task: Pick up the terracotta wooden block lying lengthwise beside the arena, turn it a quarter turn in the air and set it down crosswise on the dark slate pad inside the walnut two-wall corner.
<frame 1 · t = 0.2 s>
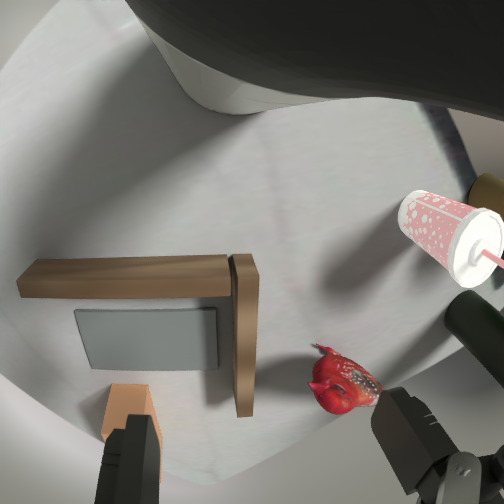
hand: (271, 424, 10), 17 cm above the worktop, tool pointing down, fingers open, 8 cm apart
beverage cup: (416, 213, 27), on the worktop
terracotta block: (138, 412, 32), on the worktop
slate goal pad: (147, 340, 28), on the worktop
decorative bird figurine: (344, 356, 33), on the worktop
walnut corner: (147, 340, 28), on the worktop
wine bottle: (460, 309, 34), on the worktop
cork: (484, 199, 28), on the worktop
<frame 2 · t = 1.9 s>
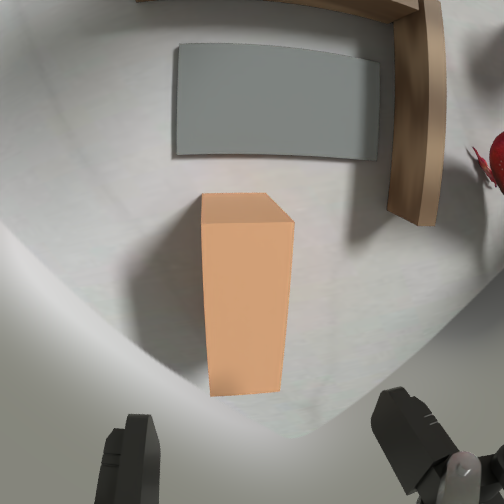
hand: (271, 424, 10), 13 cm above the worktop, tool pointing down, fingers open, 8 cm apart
terracotta block: (233, 266, 22), on the worktop
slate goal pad: (284, 99, 18), on the worktop
decorative bird figurine: (490, 183, 23), on the worktop
walnut corner: (284, 99, 18), on the worktop
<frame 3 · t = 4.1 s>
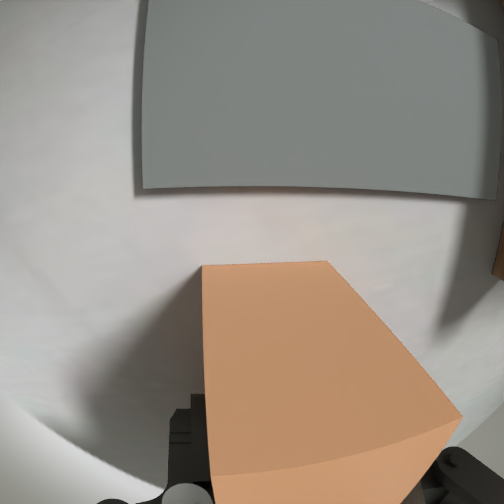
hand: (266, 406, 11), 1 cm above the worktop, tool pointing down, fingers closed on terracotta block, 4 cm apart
terracotta block: (261, 382, 12), on the worktop, touching gripper
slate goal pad: (365, 78, 8), on the worktop
walnut corner: (365, 78, 8), on the worktop
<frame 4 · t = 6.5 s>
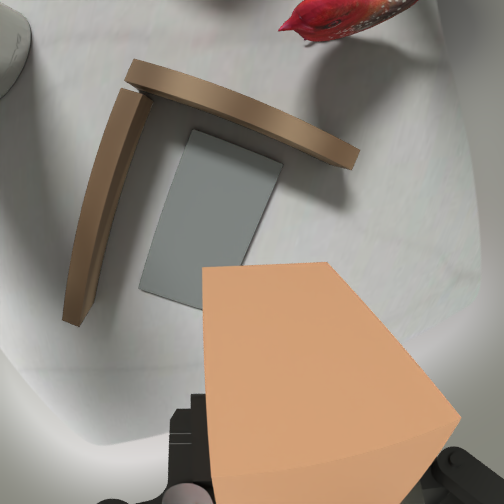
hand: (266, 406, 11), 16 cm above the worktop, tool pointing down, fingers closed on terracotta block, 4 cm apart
terracotta block: (261, 383, 12), point 14 cm above the worktop, touching gripper
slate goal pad: (205, 227, 24), on the worktop
decorative bird figurine: (349, 22, 20), on the worktop
walnut corner: (205, 227, 24), on the worktop
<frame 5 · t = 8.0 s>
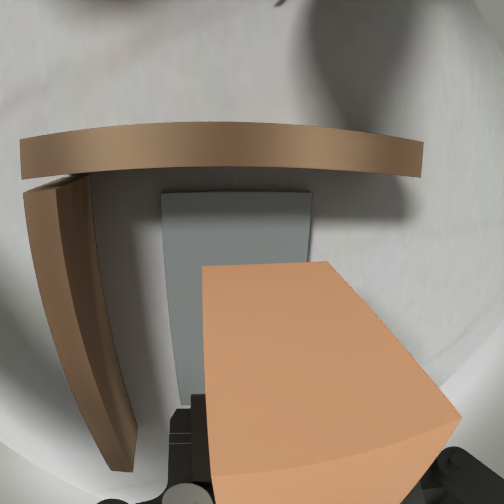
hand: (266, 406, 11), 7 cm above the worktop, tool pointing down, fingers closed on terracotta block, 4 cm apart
terracotta block: (261, 382, 12), point 6 cm above the worktop, touching gripper
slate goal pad: (235, 313, 17), on the worktop
walnut corner: (235, 313, 17), on the worktop
when the fingers open (3 cm above the worktop, at t = 9.3 s): terracotta block stays where it is, resting on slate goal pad.
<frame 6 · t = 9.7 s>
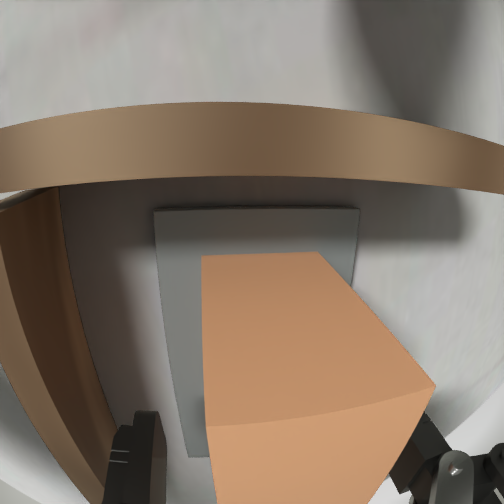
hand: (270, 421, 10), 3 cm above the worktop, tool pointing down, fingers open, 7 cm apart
terracotta block: (257, 368, 13), resting on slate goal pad
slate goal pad: (255, 361, 13), on the worktop
walnut corner: (255, 361, 13), on the worktop
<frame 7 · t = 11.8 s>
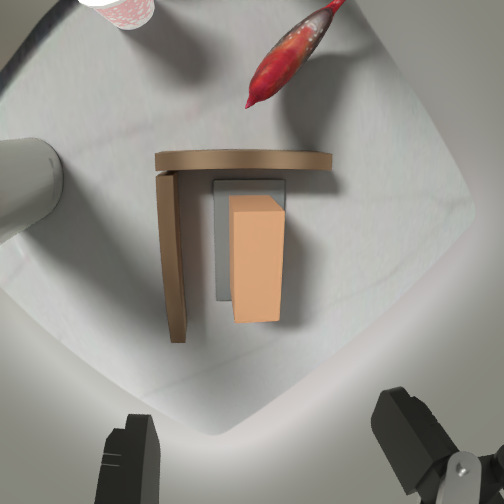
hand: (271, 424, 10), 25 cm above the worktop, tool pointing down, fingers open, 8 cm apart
beverage cup: (133, 11, 24), on the worktop
terracotta block: (249, 243, 33), resting on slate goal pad
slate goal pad: (248, 242, 34), on the worktop
decorative bird figurine: (290, 51, 27), on the worktop
walnut corner: (248, 242, 34), on the worktop
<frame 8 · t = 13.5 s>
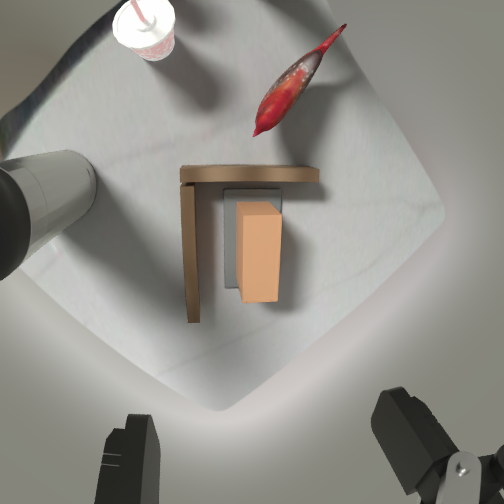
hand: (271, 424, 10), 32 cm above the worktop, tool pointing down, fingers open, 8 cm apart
beverage cup: (156, 44, 31), on the worktop
terracotta block: (252, 240, 41), resting on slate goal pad
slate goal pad: (251, 239, 41), on the worktop
decorative bird figurine: (287, 82, 35), on the worktop
walnut corner: (251, 239, 41), on the worktop
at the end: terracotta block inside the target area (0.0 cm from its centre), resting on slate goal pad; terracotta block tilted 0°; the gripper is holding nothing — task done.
